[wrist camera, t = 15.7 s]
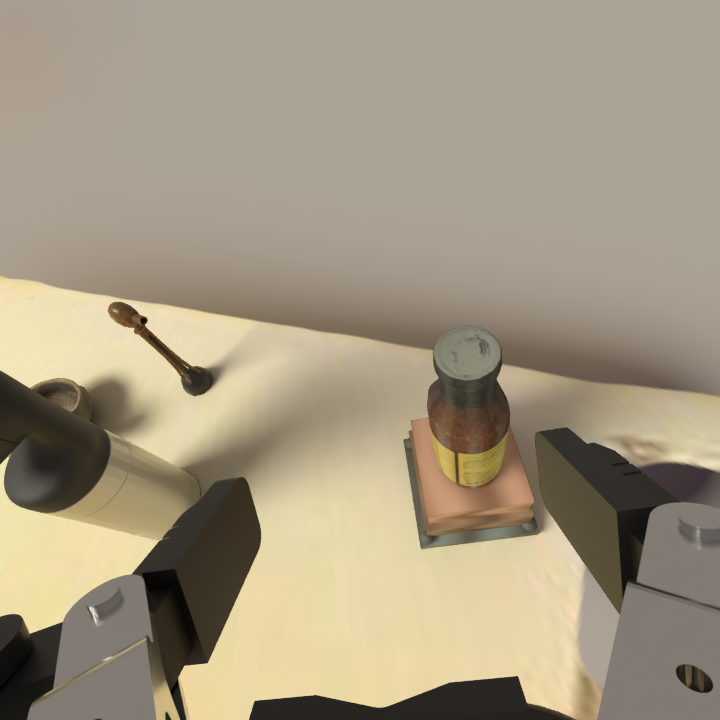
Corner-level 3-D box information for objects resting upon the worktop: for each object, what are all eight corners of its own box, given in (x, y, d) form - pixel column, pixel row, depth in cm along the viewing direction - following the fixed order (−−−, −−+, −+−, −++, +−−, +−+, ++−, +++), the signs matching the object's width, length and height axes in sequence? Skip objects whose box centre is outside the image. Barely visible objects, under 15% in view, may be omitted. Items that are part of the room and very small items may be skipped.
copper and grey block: (421, 548, 45) (414, 534, 37) (404, 442, 52) (395, 410, 44) (537, 534, 44) (557, 516, 35) (503, 427, 51) (513, 390, 42)
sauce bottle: (508, 444, 39) (548, 326, 23) (488, 503, 37) (516, 416, 20) (446, 421, 42) (442, 299, 26) (423, 474, 40) (403, 376, 23)
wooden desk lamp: (223, 377, 64) (144, 296, 48) (207, 401, 62) (119, 325, 46) (197, 367, 67) (113, 287, 50) (180, 390, 65) (87, 315, 48)
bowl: (72, 383, 71) (22, 353, 62) (136, 414, 64) (90, 385, 56) (12, 451, 65) (-52, 428, 57) (75, 494, 58) (13, 474, 50)
